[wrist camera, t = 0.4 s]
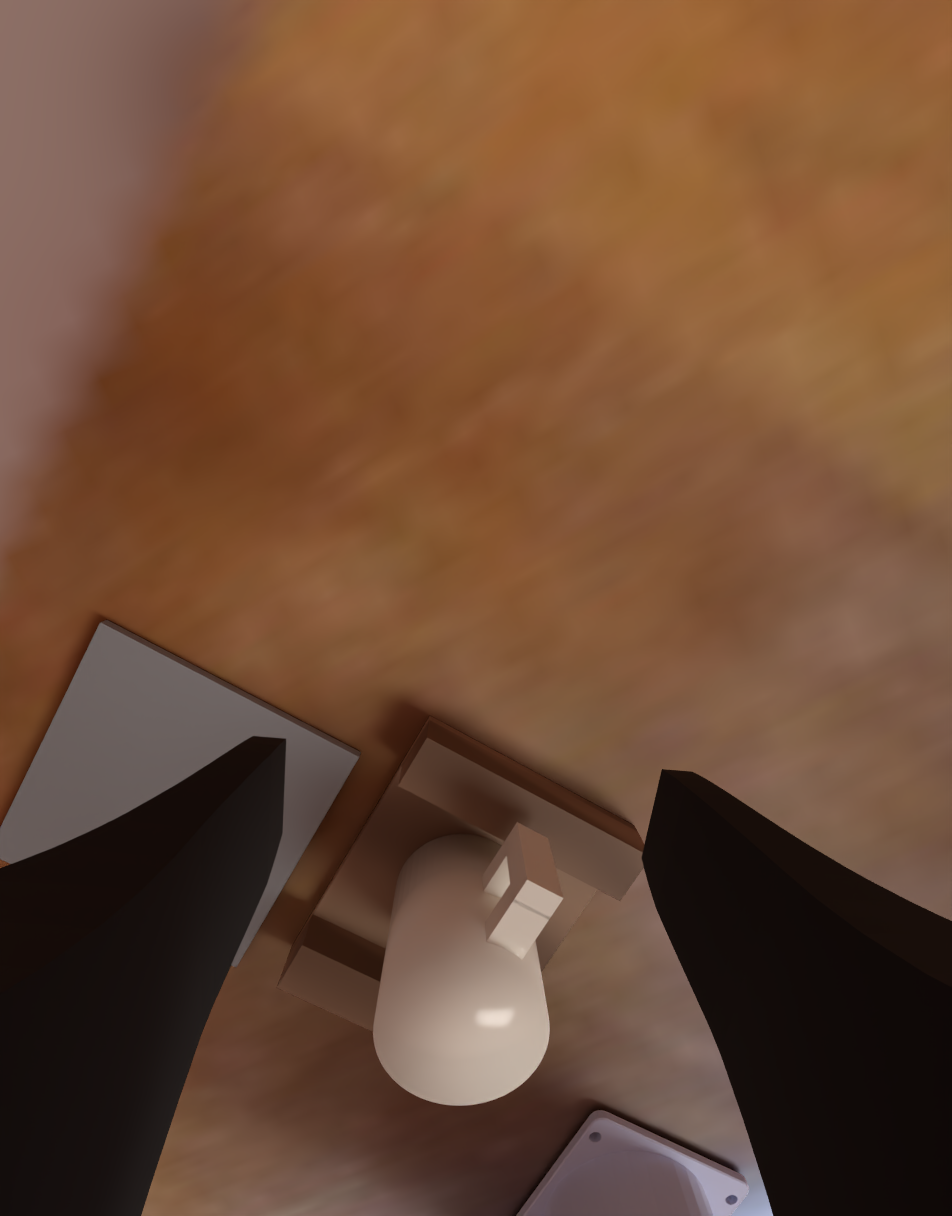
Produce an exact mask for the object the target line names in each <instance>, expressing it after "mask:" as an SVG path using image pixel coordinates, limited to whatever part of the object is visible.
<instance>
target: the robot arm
mask: <svg viewBox="0 0 952 1216" xmlns="http://www.w3.org/2000/svg"><path fill="white" fill-rule="evenodd" d="M285 761H286V739H284V738H272V737H260V736H252V737H250V738H248V739H247V740H245V741H243V742H242V743H240V744H239V745H237V746H235V747H234V748H232V749H231V750H229V751H228V752H226V753H225V754H223V755H222V756H220V757H219V758H217V759H216V760H214V761H213V762H211V763H209V764H208V765H206V766H205V767H203V768H202V769H200V770H198V771H197V772H195V773H194V774H192V775H191V776H189V777H187V778H186V779H184V780H183V781H181V782H179V783H178V784H176V785H175V786H173V787H171V788H169V789H168V790H166V791H164V792H162V793H161V794H159V795H157V796H155V797H153V798H152V799H150V800H148V801H146V802H145V803H143V804H141V805H139V806H138V807H136V808H134V809H132V810H131V811H129V812H127V813H125V814H123V815H121V816H119V817H118V818H116V819H114V820H112V821H110V822H108V823H106V824H104V825H102V826H100V827H98V828H95V829H93V830H91V831H89V832H87V833H85V834H82V835H80V836H78V837H76V838H74V839H72V840H69V841H67V842H65V843H63V844H61V845H58V846H56V847H54V848H51V849H49V850H46V851H44V852H41V853H38V854H36V855H33V856H31V857H28V858H26V859H23V860H20V861H18V862H15V863H13V864H10V865H8V866H5V867H2V868H0V1216H141V1214H142V1211H143V1208H144V1205H145V1201H146V1198H147V1195H148V1192H149V1189H150V1186H151V1182H152V1179H153V1176H154V1173H155V1170H156V1167H157V1164H158V1161H159V1158H160V1155H161V1152H162V1149H163V1146H164V1143H165V1140H166V1137H167V1134H168V1131H169V1128H170V1125H171V1122H172V1119H173V1116H174V1113H175V1110H176V1107H177V1104H178V1101H179V1098H180V1095H181V1092H182V1089H183V1086H184V1083H185V1080H186V1077H187V1074H188V1072H189V1069H190V1066H191V1063H192V1060H193V1057H194V1054H195V1051H196V1048H197V1045H198V1042H199V1040H200V1037H201V1034H202V1031H203V1029H204V1026H205V1024H206V1021H207V1019H208V1016H209V1014H210V1012H211V1009H212V1007H213V1004H214V1002H215V1000H216V997H217V995H218V993H219V991H220V989H221V986H222V984H223V982H224V980H225V977H226V975H227V973H228V971H229V969H230V966H231V964H232V962H233V960H234V957H235V955H236V953H237V951H238V949H239V946H240V944H241V942H242V940H243V938H244V935H245V933H246V931H247V929H248V926H249V924H250V922H251V920H252V917H253V915H254V913H255V911H256V908H257V906H258V904H259V902H260V899H261V897H262V895H263V893H264V890H265V888H266V886H267V883H268V880H269V877H270V874H271V870H272V867H273V864H274V861H275V858H276V854H277V851H278V847H279V844H280V841H281V837H282V834H283V810H284V785H285ZM641 859H642V862H643V866H644V869H645V873H646V877H647V880H648V884H649V887H650V890H651V893H652V897H653V900H654V903H655V906H656V909H657V911H658V914H659V916H660V918H661V921H662V923H663V925H664V927H665V930H666V932H667V934H668V936H669V939H670V941H671V943H672V945H673V948H674V950H675V952H676V954H677V956H678V959H679V961H680V963H681V965H682V967H683V970H684V972H685V974H686V976H687V978H688V981H689V983H690V985H691V987H692V989H693V992H694V994H695V996H696V998H697V1000H698V1003H699V1005H700V1007H701V1009H702V1011H703V1014H704V1016H705V1018H706V1020H707V1022H708V1025H709V1027H710V1029H711V1032H712V1034H713V1037H714V1039H715V1042H716V1044H717V1047H718V1049H719V1052H720V1054H721V1057H722V1060H723V1062H724V1065H725V1068H726V1071H727V1074H728V1077H729V1080H730V1083H731V1086H732V1088H733V1091H734V1094H735V1097H736V1100H737V1103H738V1106H739V1109H740V1112H741V1114H742V1117H743V1120H744V1123H745V1127H746V1130H747V1133H748V1136H749V1139H750V1142H751V1145H752V1148H753V1152H754V1155H755V1158H756V1161H757V1164H758V1167H759V1170H760V1174H761V1177H762V1180H763V1183H764V1186H765V1189H766V1192H767V1195H768V1199H769V1202H770V1206H771V1209H772V1213H773V1216H952V921H950V920H948V919H946V918H944V917H941V916H939V915H937V914H935V913H933V912H931V911H929V910H927V909H925V908H922V907H920V906H918V905H916V904H914V903H912V902H910V901H908V900H906V899H904V898H902V897H900V896H898V895H897V894H895V893H893V892H891V891H889V890H887V889H885V888H883V887H881V886H879V885H877V884H875V883H873V882H871V881H870V880H868V879H866V878H864V877H862V876H860V875H859V874H857V873H855V872H853V871H851V870H850V869H848V868H846V867H844V866H843V865H841V864H839V863H838V862H836V861H834V860H833V859H831V858H829V857H828V856H826V855H824V854H823V853H821V852H819V851H818V850H816V849H814V848H813V847H811V846H809V845H808V844H806V843H804V842H803V841H801V840H800V839H798V838H797V837H795V836H793V835H792V834H790V833H789V832H787V831H786V830H784V829H782V828H781V827H779V826H778V825H776V824H775V823H773V822H772V821H770V820H769V819H767V818H766V817H764V816H763V815H761V814H759V813H758V812H756V811H755V810H753V809H752V808H750V807H749V806H747V805H746V804H744V803H743V802H741V801H740V800H738V799H737V798H735V797H734V796H732V795H731V794H729V793H728V792H726V791H725V790H723V789H721V788H720V787H718V786H717V785H715V784H713V783H712V782H710V781H708V780H707V779H705V778H703V777H701V776H699V775H698V774H696V773H694V772H689V771H676V770H664V769H662V771H661V776H660V780H659V784H658V789H657V793H656V797H655V802H654V806H653V810H652V815H651V819H650V823H649V828H648V832H647V836H646V841H645V845H644V849H643V853H642V858H641ZM748 1192H749V1186H748V1184H747V1182H746V1179H745V1177H744V1176H743V1175H741V1174H739V1173H737V1172H735V1171H733V1170H731V1169H729V1168H727V1167H724V1166H722V1165H720V1164H718V1163H716V1162H714V1161H712V1160H709V1159H707V1158H705V1157H703V1156H701V1155H699V1154H697V1153H694V1152H692V1151H690V1150H688V1149H686V1148H684V1147H682V1146H679V1145H677V1144H675V1143H673V1142H671V1141H669V1140H667V1139H664V1138H662V1137H660V1136H658V1135H656V1134H654V1133H652V1132H649V1131H647V1130H645V1129H643V1128H641V1127H639V1126H636V1125H634V1124H632V1123H630V1122H628V1121H626V1120H624V1119H621V1118H619V1117H617V1116H615V1115H613V1114H611V1113H609V1112H606V1111H603V1110H597V1111H594V1112H593V1113H592V1114H591V1115H590V1116H589V1117H588V1118H587V1120H586V1121H585V1122H584V1124H583V1125H582V1126H581V1128H580V1129H579V1131H578V1132H577V1133H576V1135H575V1136H574V1137H573V1139H572V1140H571V1141H570V1143H569V1144H568V1146H567V1147H566V1148H565V1150H564V1151H563V1152H562V1154H561V1155H560V1156H559V1158H558V1159H557V1161H556V1162H555V1163H554V1165H553V1166H552V1167H551V1169H550V1170H549V1171H548V1173H547V1174H546V1176H545V1177H544V1178H543V1180H542V1181H541V1182H540V1184H539V1185H538V1186H537V1188H536V1189H535V1191H534V1192H533V1193H532V1195H531V1196H530V1197H529V1199H528V1200H527V1201H526V1203H525V1204H524V1206H523V1207H522V1208H521V1210H520V1211H519V1212H518V1214H517V1215H516V1216H731V1214H732V1213H733V1212H734V1211H735V1209H736V1208H737V1207H738V1206H739V1204H740V1203H741V1202H742V1201H743V1199H744V1198H745V1197H746V1196H747V1194H748Z"/></svg>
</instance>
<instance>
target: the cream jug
mask: <svg viewBox="0 0 952 1216" xmlns="http://www.w3.org/2000/svg"><path fill="white" fill-rule="evenodd" d="M562 900H563V894H562V891H561V887H560V883H559V879H558V875H557V871H556V867H555V863H554V860H553V856H552V852H551V848H550V844H549V840H548V838H546V837H544V836H543V835H541V834H539V833H537V832H535V831H533V830H531V829H529V828H527V827H525V826H524V825H522V824H520V823H518V822H517V823H516V825H515V826H514V828H513V829H512V831H511V832H510V834H509V835H508V837H507V839H506V840H505V842H504V843H503V845H502V846H501V845H499V844H498V843H496V842H494V841H492V840H490V839H487V838H484V837H481V836H477V835H471V834H453V835H447V836H443V837H440V838H437V839H434V840H432V841H430V842H428V843H426V844H424V845H423V846H421V847H420V848H419V849H417V850H416V851H415V852H414V853H413V854H412V855H411V856H410V857H409V858H408V859H407V861H406V862H405V864H404V865H403V867H402V869H401V871H400V873H399V876H398V879H397V883H396V889H395V895H394V901H393V907H392V913H391V920H390V926H389V932H388V938H387V944H386V950H385V957H384V963H383V969H382V975H381V981H380V987H379V994H378V1000H377V1006H376V1012H375V1018H374V1025H373V1038H374V1046H375V1049H376V1053H377V1056H378V1058H379V1060H380V1062H381V1064H382V1066H383V1067H384V1069H385V1070H386V1072H387V1073H388V1074H389V1075H390V1077H391V1078H392V1079H393V1080H394V1081H395V1082H396V1083H397V1084H399V1085H400V1086H401V1087H402V1088H404V1089H405V1090H407V1091H408V1092H410V1093H412V1094H414V1095H415V1096H417V1097H419V1098H422V1099H425V1100H427V1101H430V1102H434V1103H438V1104H444V1105H455V1106H464V1105H475V1104H480V1103H485V1102H488V1101H491V1100H495V1099H497V1098H499V1097H502V1096H504V1095H506V1094H508V1093H509V1092H511V1091H513V1090H515V1089H516V1088H517V1087H519V1086H520V1085H521V1084H523V1083H524V1082H525V1081H526V1080H527V1079H528V1078H529V1077H530V1076H531V1075H532V1074H533V1072H534V1071H535V1070H536V1069H537V1067H538V1066H539V1064H540V1062H541V1061H542V1059H543V1056H544V1054H545V1052H546V1049H547V1045H548V1041H549V1033H550V1024H549V1016H548V1010H547V1004H546V999H545V993H544V987H543V981H542V975H541V969H540V963H539V958H538V952H537V946H536V938H537V937H538V935H539V934H540V932H541V931H542V929H543V928H544V926H545V925H546V923H547V922H548V921H549V919H550V918H551V916H552V915H553V913H554V912H555V910H556V909H557V907H558V906H559V904H560V903H561V901H562Z"/></svg>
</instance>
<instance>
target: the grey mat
mask: <svg viewBox="0 0 952 1216" xmlns="http://www.w3.org/2000/svg"><path fill="white" fill-rule="evenodd" d="M252 736H260V737H272V738H284V739H286V761H285V785H284V810H283V834H282V837H281V841H280V844H279V847H278V851H277V854H276V858H275V861H274V864H273V867H272V870H271V874H270V877H269V880H268V883H267V886H266V888H265V890H264V893H263V895H262V897H261V899H260V902H259V904H258V906H257V908H256V911H255V913H254V915H253V917H252V920H251V922H250V924H249V926H248V929H247V931H246V933H245V935H244V938H243V940H242V942H241V944H240V946H239V949H238V951H237V953H236V955H235V957H234V960H233V962H232V964H231V965H232V966H234V967H237V965H238V964H239V962H240V960H241V959H242V957H243V955H244V953H245V952H246V950H247V948H248V947H249V945H250V943H251V941H252V940H253V938H254V936H255V935H256V933H257V931H258V929H259V928H260V926H261V924H262V923H263V921H264V919H265V917H266V916H267V914H268V912H269V911H270V909H271V907H272V905H273V904H274V902H275V900H276V899H277V897H278V895H279V894H280V892H281V890H282V888H283V887H284V885H285V883H286V882H287V880H288V878H289V876H290V875H291V873H292V871H293V870H294V868H295V866H296V864H297V863H298V861H299V859H300V858H301V856H302V854H303V852H304V851H305V849H306V847H307V846H308V844H309V842H310V840H311V839H312V837H313V835H314V834H315V832H316V830H317V829H318V827H319V825H320V823H321V822H322V820H323V818H324V817H325V815H326V813H327V811H328V810H329V808H330V806H331V805H332V803H333V801H334V799H335V798H336V796H337V794H338V793H339V791H340V789H341V787H342V786H343V784H344V782H345V781H346V779H347V777H348V775H349V774H350V772H351V770H352V769H353V767H354V765H355V764H356V762H357V760H358V758H359V756H360V754H361V752H359V751H357V750H355V749H354V748H352V747H350V746H348V745H346V744H344V743H342V742H340V741H338V740H336V739H334V738H332V737H331V736H329V735H327V734H325V733H323V732H321V731H319V730H317V729H315V728H313V727H311V726H309V725H308V724H306V723H304V722H302V721H300V720H298V719H296V718H294V717H292V716H290V715H288V714H286V713H285V712H283V711H281V710H279V709H277V708H275V707H273V706H271V705H269V704H267V703H265V702H263V701H262V700H260V699H258V698H256V697H254V696H252V695H250V694H248V693H246V692H244V691H242V690H240V689H239V688H237V687H235V686H233V685H231V684H229V683H227V682H225V681H223V680H221V679H219V678H217V677H216V676H214V675H212V674H210V673H208V672H206V671H204V670H202V669H200V668H198V667H196V666H194V665H193V664H191V663H189V662H187V661H185V660H183V659H181V658H179V657H177V656H175V655H173V654H171V653H170V652H168V651H166V650H164V649H162V648H160V647H158V646H156V645H154V644H152V643H150V642H148V641H147V640H145V639H143V638H141V637H139V636H137V635H135V634H133V633H131V632H129V631H127V630H125V629H124V628H122V627H120V626H118V625H116V624H114V623H112V622H110V621H108V620H105V621H103V622H100V624H99V626H98V628H97V630H96V632H95V634H94V636H93V638H92V640H91V642H90V645H89V647H88V649H87V651H86V653H85V655H84V657H83V659H82V661H81V663H80V665H79V667H78V669H77V671H76V673H75V675H74V677H73V679H72V681H71V684H70V686H69V688H68V690H67V692H66V694H65V696H64V698H63V700H62V702H61V704H60V706H59V708H58V710H57V712H56V714H55V716H54V718H53V721H52V723H51V725H50V727H49V729H48V731H47V733H46V735H45V737H44V739H43V741H42V743H41V745H40V747H39V749H38V751H37V753H36V755H35V757H34V760H33V762H32V764H31V766H30V768H29V770H28V772H27V774H26V776H25V778H24V780H23V782H22V784H21V786H20V788H19V790H18V792H17V794H16V797H15V799H14V801H13V803H12V805H11V807H10V809H9V811H8V813H7V815H6V817H5V819H4V821H3V823H2V825H1V827H0V859H1V860H4V861H6V862H8V863H10V864H13V863H15V862H18V861H20V860H23V859H26V858H28V857H31V856H33V855H36V854H38V853H41V852H44V851H46V850H49V849H51V848H54V847H56V846H58V845H61V844H63V843H65V842H67V841H69V840H72V839H74V838H76V837H78V836H80V835H82V834H85V833H87V832H89V831H91V830H93V829H95V828H98V827H100V826H102V825H104V824H106V823H108V822H110V821H112V820H114V819H116V818H118V817H119V816H121V815H123V814H125V813H127V812H129V811H131V810H132V809H134V808H136V807H138V806H139V805H141V804H143V803H145V802H146V801H148V800H150V799H152V798H153V797H155V796H157V795H159V794H161V793H162V792H164V791H166V790H168V789H169V788H171V787H173V786H175V785H176V784H178V783H179V782H181V781H183V780H184V779H186V778H187V777H189V776H191V775H192V774H194V773H195V772H197V771H198V770H200V769H202V768H203V767H205V766H206V765H208V764H209V763H211V762H213V761H214V760H216V759H217V758H219V757H220V756H222V755H223V754H225V753H226V752H228V751H229V750H231V749H232V748H234V747H235V746H237V745H239V744H240V743H242V742H243V741H245V740H247V739H248V738H250V737H252Z"/></svg>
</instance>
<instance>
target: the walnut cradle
mask: <svg viewBox="0 0 952 1216" xmlns="http://www.w3.org/2000/svg"><path fill="white" fill-rule="evenodd" d="M517 822H518V823H520V824H522V825H524V826H525V827H527V828H529V829H531V830H533V831H535V832H537V833H539V834H541V835H543V836H544V837H546V838H548V840H549V844H550V848H551V852H552V856H553V860H554V863H555V867H556V871H557V875H558V879H559V883H560V887H561V891H562V894H563V900H562V901H561V903H560V904H559V906H558V907H557V909H556V910H555V912H554V913H553V915H552V916H551V918H550V919H549V921H548V922H547V923H546V925H545V926H544V928H543V929H542V931H541V932H540V934H539V935H538V937H537V938H536V946H537V952H538V958H539V963H540V969H541V972H542V970H543V969H544V968H545V966H546V965H547V963H548V962H549V960H550V959H551V957H552V956H553V954H554V953H555V951H556V950H557V949H558V947H559V946H560V944H561V943H562V941H563V940H564V938H565V937H566V935H567V934H568V932H569V931H570V930H571V928H572V927H573V925H574V924H575V922H576V921H577V919H578V918H579V916H580V915H581V913H582V912H583V911H584V909H585V908H586V906H587V905H588V903H589V902H590V900H591V899H592V897H593V896H594V894H595V893H596V892H597V890H600V891H601V892H603V893H605V894H607V895H609V896H611V897H613V898H615V899H617V900H619V901H621V899H622V898H623V896H624V895H625V894H626V892H627V891H628V889H629V888H630V886H631V885H632V883H633V882H634V881H635V879H636V878H637V876H638V875H639V873H640V872H641V870H642V869H643V868H644V866H643V862H642V859H641V858H642V853H643V849H644V843H643V841H642V839H641V837H640V835H639V833H638V831H637V830H636V828H635V826H634V825H632V824H630V823H628V822H627V821H625V820H623V819H621V818H619V817H617V816H615V815H614V814H612V813H610V812H608V811H606V810H604V809H602V808H601V807H599V806H597V805H595V804H593V803H591V802H589V801H588V800H586V799H584V798H582V797H580V796H578V795H576V794H575V793H573V792H571V791H569V790H567V789H565V788H563V787H562V786H560V785H558V784H556V783H554V782H552V781H550V780H549V779H547V778H545V777H543V776H541V775H539V774H537V773H536V772H534V771H532V770H530V769H528V768H526V767H524V766H523V765H521V764H519V763H517V762H515V761H513V760H511V759H510V758H508V757H506V756H504V755H502V754H500V753H498V752H497V751H495V750H493V749H491V748H489V747H487V746H485V745H484V744H482V743H480V742H478V741H476V740H474V739H472V738H471V737H469V736H467V735H465V734H463V733H461V732H459V731H458V730H456V729H454V728H452V727H450V726H448V725H446V724H445V723H443V722H441V721H439V720H437V719H435V718H433V717H432V716H429V718H428V720H427V721H426V723H425V725H424V726H423V728H422V730H421V731H420V733H419V735H418V736H417V738H416V740H415V741H414V743H413V745H412V746H411V748H410V750H409V751H408V753H407V755H406V756H405V758H404V760H403V761H402V763H401V765H400V766H399V768H398V770H397V771H396V773H395V775H394V776H393V778H392V780H391V781H390V783H389V785H388V787H387V788H386V790H385V792H384V793H383V795H382V797H381V798H380V800H379V802H378V803H377V805H376V807H375V808H374V810H373V812H372V813H371V815H370V817H369V818H368V820H367V822H366V823H365V825H364V827H363V828H362V830H361V832H360V833H359V835H358V837H357V838H356V840H355V842H354V843H353V845H352V847H351V848H350V850H349V852H348V853H347V855H346V857H345V858H344V860H343V862H342V863H341V865H340V867H339V868H338V870H337V872H336V873H335V875H334V877H333V878H332V880H331V882H330V883H329V885H328V887H327V888H326V890H325V892H324V893H323V895H322V897H321V898H320V900H319V902H318V903H317V905H316V907H315V908H314V910H313V912H312V913H311V915H310V917H309V919H308V920H307V922H306V924H305V925H304V927H303V929H302V930H301V932H300V934H299V935H298V937H297V939H296V940H295V942H294V944H293V945H292V947H291V950H290V953H289V955H288V958H287V961H286V963H285V966H284V969H283V972H282V974H281V977H280V980H279V983H278V985H277V988H278V989H280V990H282V991H285V992H287V993H289V994H291V995H293V996H295V997H298V998H300V999H302V1000H304V1001H306V1002H308V1003H311V1004H313V1005H315V1006H317V1007H319V1008H322V1009H324V1010H326V1011H328V1012H330V1013H332V1014H335V1015H337V1016H339V1017H341V1018H343V1019H345V1020H348V1021H350V1022H352V1023H354V1024H356V1025H359V1026H361V1027H363V1028H365V1029H367V1030H369V1031H372V1032H373V1025H374V1018H375V1012H376V1006H377V1000H378V994H379V987H380V981H381V975H382V969H383V963H384V957H385V950H386V944H387V938H388V932H389V926H390V920H391V913H392V907H393V901H394V895H395V889H396V883H397V879H398V876H399V873H400V871H401V869H402V867H403V865H404V864H405V862H406V861H407V859H408V858H409V857H410V856H411V855H412V854H413V853H414V852H415V851H416V850H417V849H419V848H420V847H421V846H423V845H424V844H426V843H428V842H430V841H432V840H434V839H437V838H440V837H443V836H447V835H453V834H471V835H477V836H481V837H484V838H487V839H490V840H492V841H494V842H496V843H498V844H499V845H501V846H502V845H503V843H504V842H505V840H506V839H507V837H508V835H509V834H510V832H511V831H512V829H513V828H514V826H515V825H516V823H517Z"/></svg>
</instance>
